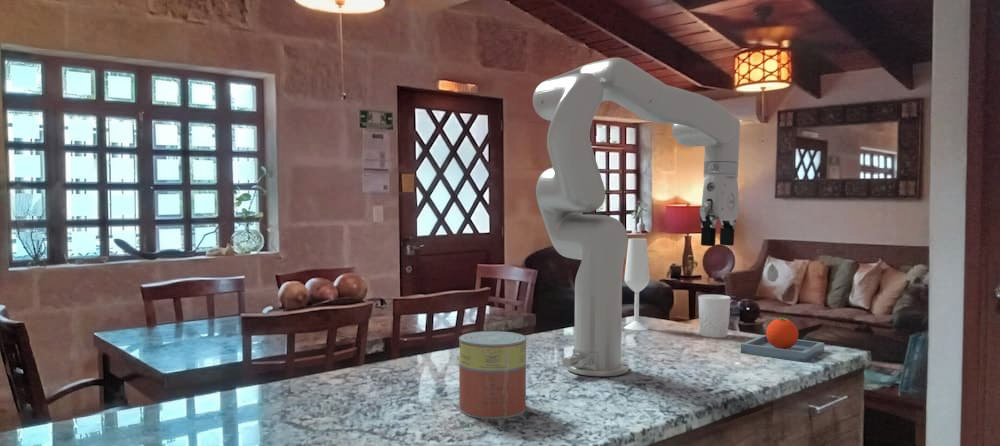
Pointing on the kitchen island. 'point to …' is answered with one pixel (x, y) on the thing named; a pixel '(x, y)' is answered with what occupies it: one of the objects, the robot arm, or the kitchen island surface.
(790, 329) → the clementine
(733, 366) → the kitchen island surface
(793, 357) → the dish
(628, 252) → the champagne flute
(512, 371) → the canned food
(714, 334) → the white cup
